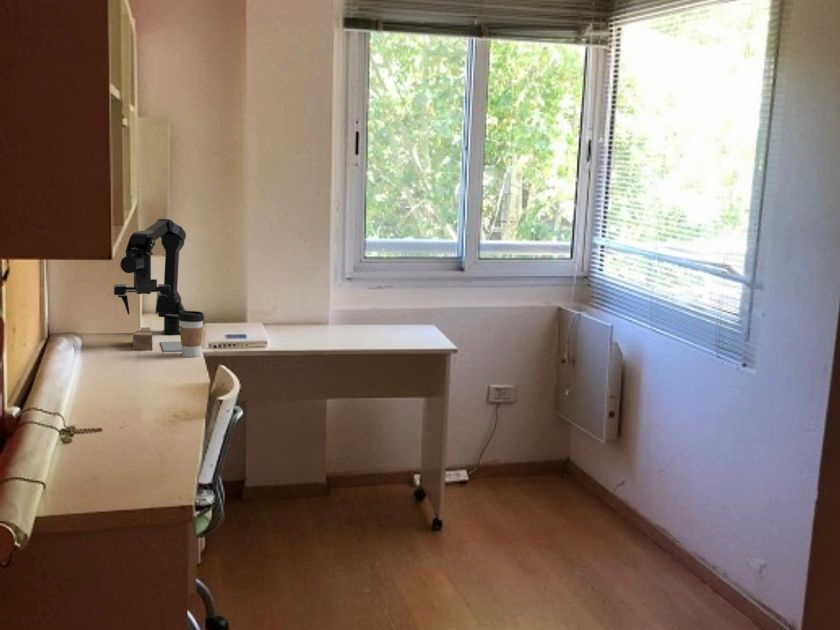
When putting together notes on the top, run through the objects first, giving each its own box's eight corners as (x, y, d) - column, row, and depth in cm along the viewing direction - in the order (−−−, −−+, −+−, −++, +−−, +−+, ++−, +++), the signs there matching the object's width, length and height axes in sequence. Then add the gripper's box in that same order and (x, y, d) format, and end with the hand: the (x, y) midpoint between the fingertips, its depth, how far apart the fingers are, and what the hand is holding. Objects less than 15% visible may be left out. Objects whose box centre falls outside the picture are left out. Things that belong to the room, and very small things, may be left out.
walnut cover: (132, 343, 320) (132, 327, 319) (149, 342, 322) (149, 327, 321) (134, 350, 309) (134, 335, 308) (152, 350, 311) (152, 334, 310)
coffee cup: (176, 353, 309) (176, 309, 306) (201, 351, 312) (201, 309, 309) (180, 358, 301) (181, 314, 298) (206, 357, 305) (206, 313, 302)
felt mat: (160, 342, 322) (160, 341, 322) (186, 342, 325) (186, 341, 325) (163, 351, 309) (163, 350, 309) (190, 351, 312) (190, 350, 312)
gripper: (114, 273, 299) (115, 319, 302) (172, 273, 306) (172, 318, 309) (113, 268, 310) (113, 312, 313) (169, 268, 316) (169, 311, 319)
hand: (142, 314), depth 313 cm, fingers open, 9 cm apart
